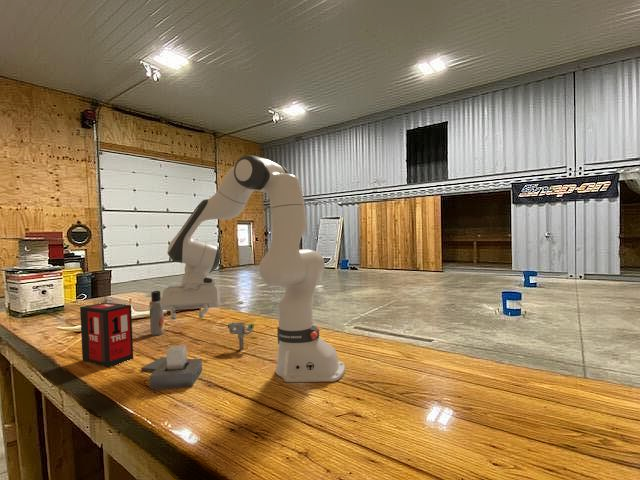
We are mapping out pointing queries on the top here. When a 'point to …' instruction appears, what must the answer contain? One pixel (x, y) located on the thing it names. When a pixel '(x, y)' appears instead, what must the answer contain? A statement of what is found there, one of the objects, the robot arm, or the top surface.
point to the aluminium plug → (176, 358)
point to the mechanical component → (240, 331)
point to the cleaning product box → (106, 333)
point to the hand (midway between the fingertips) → (187, 317)
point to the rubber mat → (154, 365)
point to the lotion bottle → (156, 314)
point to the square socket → (176, 375)
